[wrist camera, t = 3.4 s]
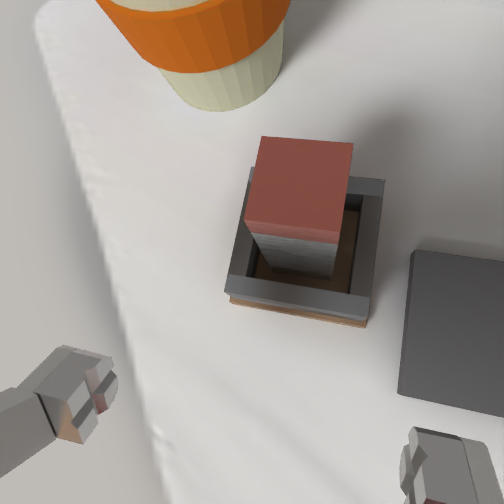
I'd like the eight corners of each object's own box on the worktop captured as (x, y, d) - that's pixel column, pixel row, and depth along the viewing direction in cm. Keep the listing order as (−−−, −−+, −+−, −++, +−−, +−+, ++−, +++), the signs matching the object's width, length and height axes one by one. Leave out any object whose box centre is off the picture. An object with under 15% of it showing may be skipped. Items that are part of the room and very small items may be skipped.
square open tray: (379, 201, 23) (390, 176, 20) (363, 328, 21) (372, 323, 18) (257, 188, 25) (248, 162, 21) (232, 303, 23) (218, 295, 19)
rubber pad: (564, 275, 20) (576, 271, 19) (565, 429, 18) (578, 434, 17) (411, 254, 22) (415, 249, 21) (397, 393, 20) (401, 394, 19)
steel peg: (339, 225, 22) (353, 143, 13) (331, 281, 21) (340, 232, 13) (282, 217, 23) (261, 136, 14) (272, 271, 22) (243, 219, 13)
